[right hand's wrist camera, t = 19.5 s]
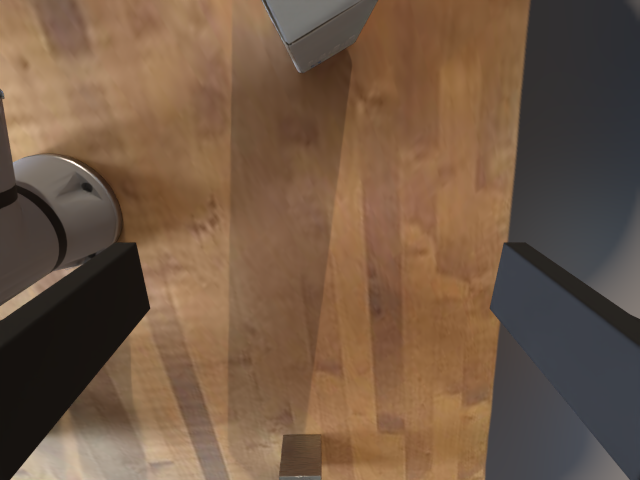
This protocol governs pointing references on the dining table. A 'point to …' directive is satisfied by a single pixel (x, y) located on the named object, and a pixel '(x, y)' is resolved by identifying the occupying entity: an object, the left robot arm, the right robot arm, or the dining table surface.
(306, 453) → the block
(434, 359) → the dining table surface
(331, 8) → the hard drive box
